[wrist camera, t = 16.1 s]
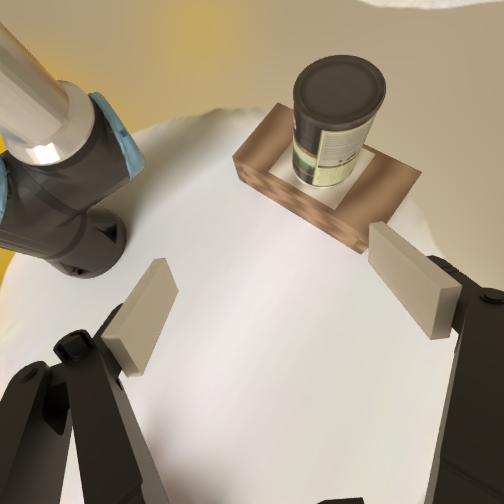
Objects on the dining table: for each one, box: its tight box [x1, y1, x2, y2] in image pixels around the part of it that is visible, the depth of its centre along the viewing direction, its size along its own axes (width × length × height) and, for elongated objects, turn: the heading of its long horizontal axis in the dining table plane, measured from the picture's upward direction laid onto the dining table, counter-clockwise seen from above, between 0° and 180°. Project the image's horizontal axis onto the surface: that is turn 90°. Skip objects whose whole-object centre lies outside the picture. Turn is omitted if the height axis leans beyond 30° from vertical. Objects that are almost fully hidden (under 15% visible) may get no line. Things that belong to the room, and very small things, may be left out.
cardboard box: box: [232, 103, 422, 254], centre depth 46 cm, size 28×14×8 cm, turn 53°
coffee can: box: [292, 55, 386, 189], centre depth 36 cm, size 10×10×14 cm
